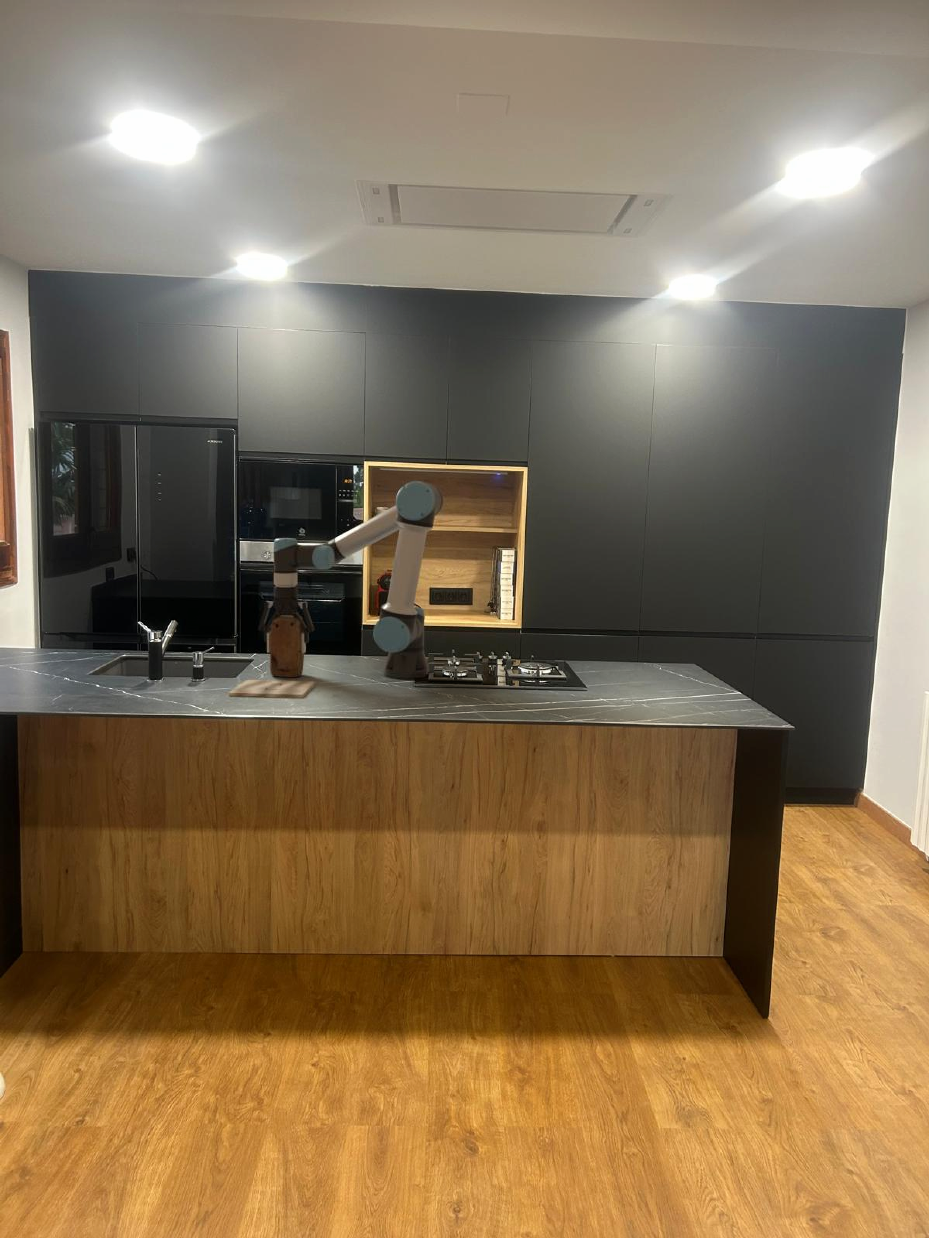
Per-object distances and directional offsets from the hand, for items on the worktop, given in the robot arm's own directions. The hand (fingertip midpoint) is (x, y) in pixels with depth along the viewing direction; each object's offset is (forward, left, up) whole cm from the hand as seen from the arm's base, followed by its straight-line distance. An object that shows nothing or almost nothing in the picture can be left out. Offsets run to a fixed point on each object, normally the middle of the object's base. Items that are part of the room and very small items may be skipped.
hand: (286, 652), depth 277 cm
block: (0, 0, -8) cm, 8 cm away
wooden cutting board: (-1, +21, -8) cm, 22 cm away
